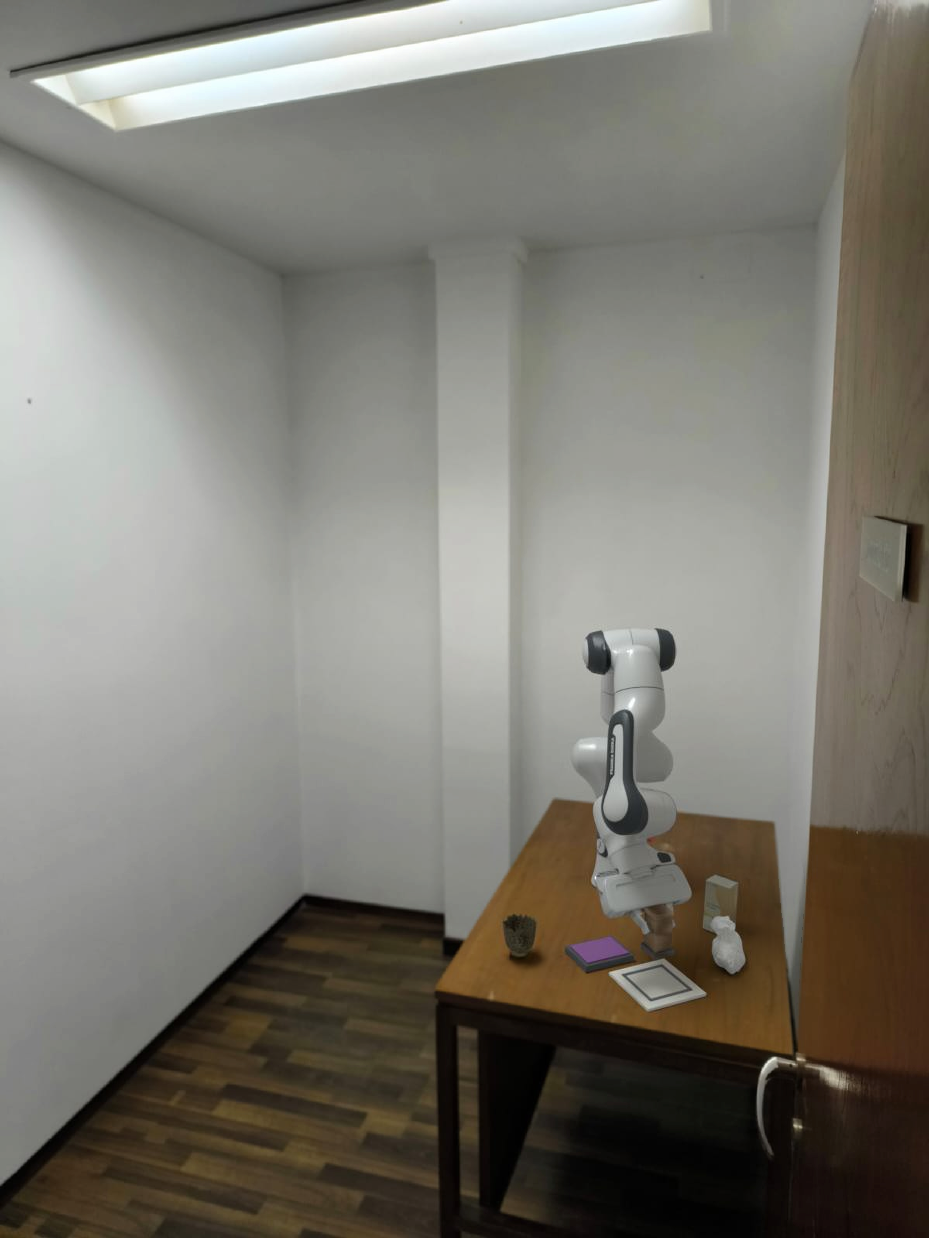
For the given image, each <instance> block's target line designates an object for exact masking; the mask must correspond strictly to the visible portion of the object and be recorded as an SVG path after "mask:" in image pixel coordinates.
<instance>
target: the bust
mask: <svg viewBox="0 0 929 1238" xmlns="http://www.w3.org/2000/svg"><path fill="white" fill-rule="evenodd" d="M711 928H712V930H714V931H715V932H716V933H717V934H716V933H715V934H716V937H715V938H714V939H713V940H712V942H711V943H712V947H711V953H712V957H713V960H714V962H715V964H716V965H717V966H719V967H720V968H723V969H725V970H726V971H727V973H729V974H730V975H734V974H735V973H736V972H740V970H741V969H742V967H743V966H744V965H745V963H746V956H745V953H744V949H743V940H742V938H741V936H740V935H739V933H738V932H737V931H736V924H735V923H733V922H732V921H731V920H730V919H729V916H726V917H725V916H724V917H721V916H717V917H714V919H713V920H712V922H711ZM734 930H735V931H734Z"/></svg>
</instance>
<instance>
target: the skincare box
mask: <svg viewBox="0 0 929 1238" xmlns="http://www.w3.org/2000/svg"><path fill="white" fill-rule="evenodd" d="M738 895H739V882H737V881H734V880H731V879H729V878H726V877H722V876H721V875H720V876H719V875H717V874H713V875H711V876H710V877H708V878H707V879H706V880H705V889H704V907H703V918H702V919H703V921H702V928H703V929H704V930H706V931H709V932H711V933H714V934H715V935H717V933H716V932H715V931H714V930H712V928H711V922H712V920H713V919H714V917H717V916H721V917H724V916H725V917H726V916H729V919H730V920H731V921H732V922H733V923H735V925H736V922H737V909H738V908H737V907H738ZM734 931H735V932H736V929H735V930H734Z"/></svg>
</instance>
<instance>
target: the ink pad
mask: <svg viewBox="0 0 929 1238" xmlns="http://www.w3.org/2000/svg"><path fill="white" fill-rule="evenodd" d="M564 953H565V954H566V955H567V956H568V957H569V958H570V959H572V961H573V962H575V963H576V965H578V967H579V968H580V969H581V970H583V972H585V973H587V974H588V973H591V972H595V971H599V970H603V969H607V968H611V967H615V966H620V965H623V964H628V963H631V962H635V954H634V953H632V952H631V951H630V949H628V948H626V947H625V946H624V944H622V943H621V942H620V941H618V940H617V939H616V938H615V937H614V936H613V935H606V936H604V937H599V938H598V937H597V938H594V939H590V940H586V941H581V942H577V943H573V944H567V945H564Z"/></svg>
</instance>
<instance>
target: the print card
mask: <svg viewBox="0 0 929 1238" xmlns="http://www.w3.org/2000/svg"><path fill="white" fill-rule="evenodd" d="M608 976H609V977H610V978H612V979H613V981H614V982H616V984H618V985H619V986H620V987H621V988H622V989H623V990H624V991H625V992H626V993H627V994H628V995H629V996H630V997H631V998H632V999H633V1000H635V1001H636V1002H637V1003H638V1004H639V1005H640V1006H641V1007H642V1008H643V1009H644V1010H645V1011H646V1012H647V1013H650V1012H653V1011H656V1010H660V1009H664V1008H667V1007H671V1006H674V1005H678V1004H682V1003H687V1002H690V1001H693V1000H697V999H699V998H700V999H701V998H704V997H707V992H705V991H704V990H703V989H702V988H700V987H699V986H698V985H697V984H696V983H694V982H693V981H692V980H691V979H690V978H688V977H687V976H686V975H685V974H684V973H683V972H681V971H680V970H678V969H677V967H675V966H674V965H672V963H670V962H669V961H667V960H666V958H659V959H655V960H652V961H649V962H645V963H641V964H636V965H632V966H628V967H625V968H620V969H616V970H613V971H609V972H608Z"/></svg>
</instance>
